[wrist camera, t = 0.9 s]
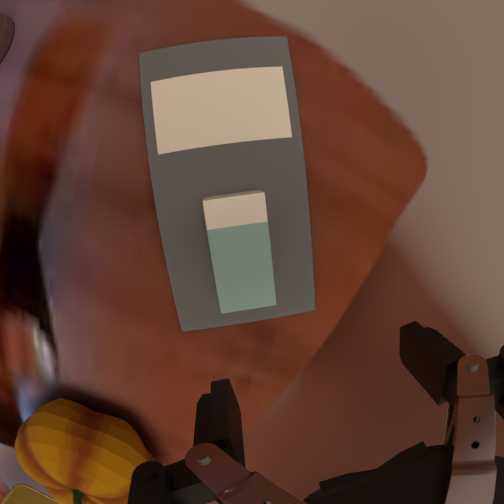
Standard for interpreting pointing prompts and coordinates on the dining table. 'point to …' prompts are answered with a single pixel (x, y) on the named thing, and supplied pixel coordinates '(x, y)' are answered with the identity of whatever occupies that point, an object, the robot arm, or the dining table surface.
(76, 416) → the decorative pumpkin
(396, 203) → the dining table surface
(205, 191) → the mat
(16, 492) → the picnic basket
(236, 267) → the two-tone rectangular block
